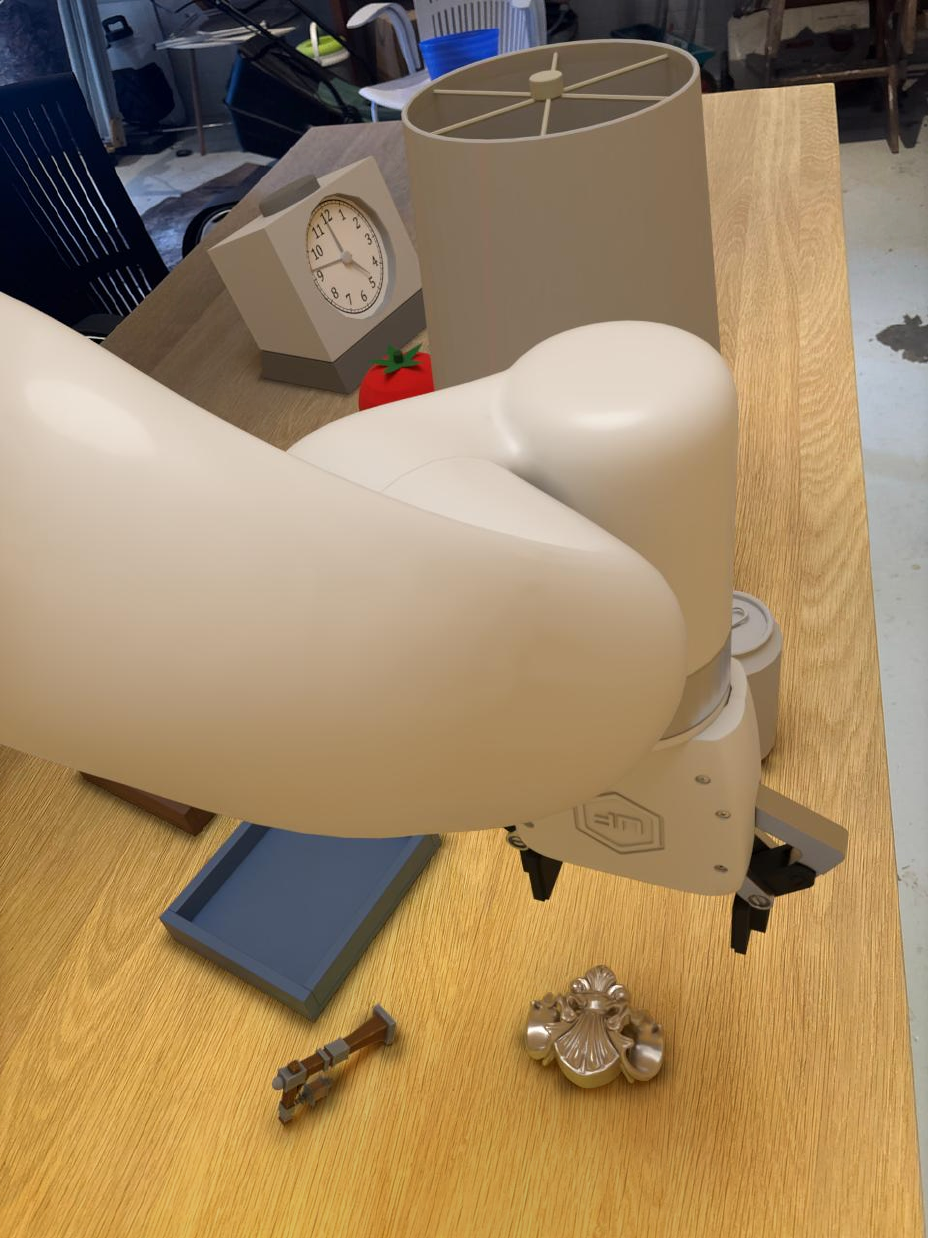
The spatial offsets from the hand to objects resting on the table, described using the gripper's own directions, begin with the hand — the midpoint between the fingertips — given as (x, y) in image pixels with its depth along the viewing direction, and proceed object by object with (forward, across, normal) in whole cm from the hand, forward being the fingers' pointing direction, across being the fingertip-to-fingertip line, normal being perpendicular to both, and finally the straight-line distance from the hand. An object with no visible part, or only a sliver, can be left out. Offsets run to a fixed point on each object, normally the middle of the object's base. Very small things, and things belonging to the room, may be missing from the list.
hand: (644, 901), depth 50 cm
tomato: (+14, -40, +56) cm, 71 cm away
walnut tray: (+14, -40, +13) cm, 44 cm away
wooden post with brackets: (+14, -16, -8) cm, 23 cm away
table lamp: (+14, -15, +40) cm, 45 cm away
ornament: (+14, -3, -1) cm, 15 cm away
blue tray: (+14, -25, +3) cm, 29 cm away
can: (+14, -1, +23) cm, 27 cm away
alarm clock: (+14, -58, +75) cm, 96 cm away
